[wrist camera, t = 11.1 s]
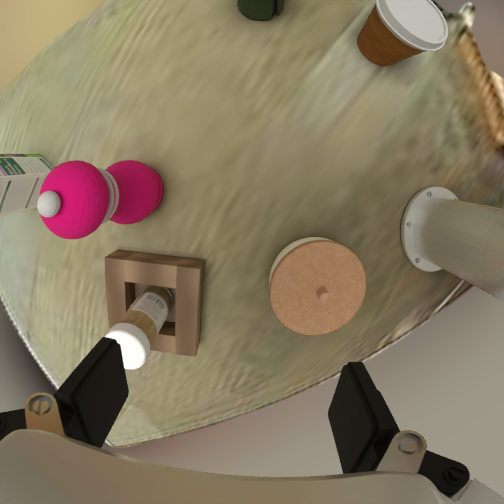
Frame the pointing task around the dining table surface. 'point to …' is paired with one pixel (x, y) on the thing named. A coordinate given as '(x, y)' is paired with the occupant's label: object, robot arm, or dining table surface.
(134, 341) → the sprinkles bottle
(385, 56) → the disposable coffee cup
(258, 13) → the character mug
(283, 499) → the robot arm
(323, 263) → the lidded jar
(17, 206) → the syrup box
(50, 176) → the pepper mill
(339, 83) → the dining table surface
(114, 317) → the socket block
